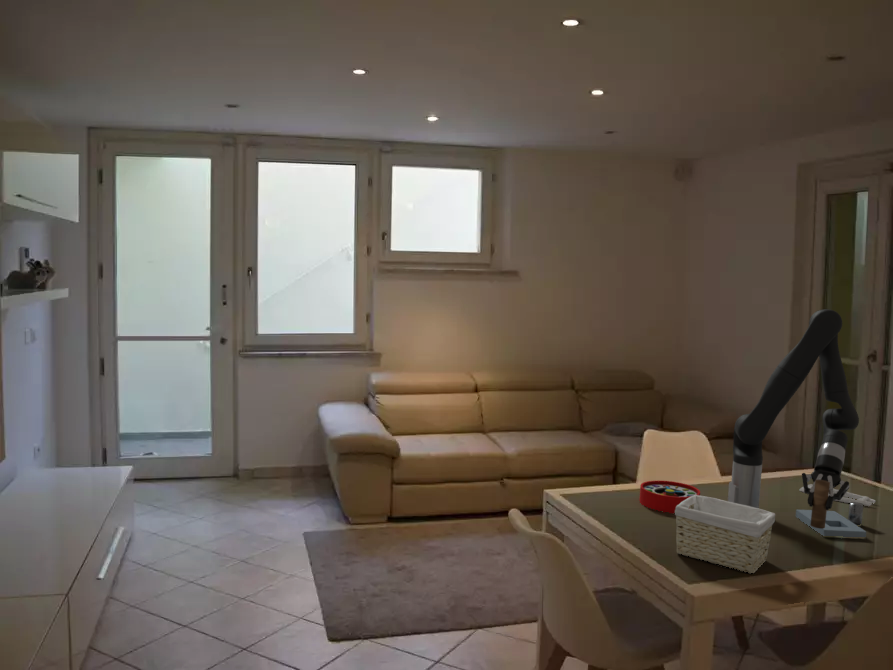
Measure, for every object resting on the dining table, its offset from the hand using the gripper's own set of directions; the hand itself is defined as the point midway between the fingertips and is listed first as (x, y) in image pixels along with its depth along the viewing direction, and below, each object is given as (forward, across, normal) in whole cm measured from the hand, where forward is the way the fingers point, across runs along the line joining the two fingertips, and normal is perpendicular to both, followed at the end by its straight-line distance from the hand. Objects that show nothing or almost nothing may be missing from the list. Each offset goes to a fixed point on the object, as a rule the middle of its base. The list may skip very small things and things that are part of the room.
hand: (818, 506), depth 236 cm
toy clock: (+4, -48, +14) cm, 50 cm away
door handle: (-33, -3, +50) cm, 60 cm away
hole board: (-5, +1, +21) cm, 22 cm away
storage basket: (+32, -19, -14) cm, 39 cm away
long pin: (+3, 0, +6) cm, 7 cm away
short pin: (-12, +7, +28) cm, 31 cm away
